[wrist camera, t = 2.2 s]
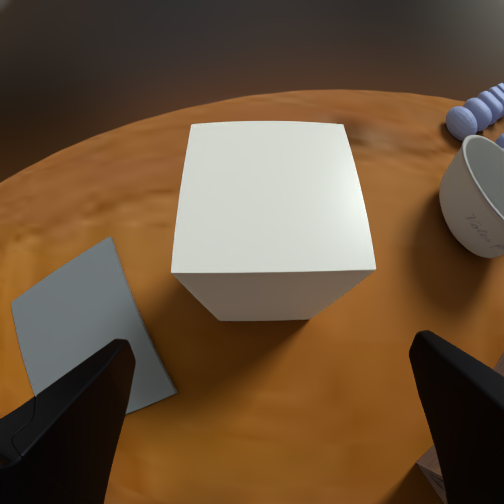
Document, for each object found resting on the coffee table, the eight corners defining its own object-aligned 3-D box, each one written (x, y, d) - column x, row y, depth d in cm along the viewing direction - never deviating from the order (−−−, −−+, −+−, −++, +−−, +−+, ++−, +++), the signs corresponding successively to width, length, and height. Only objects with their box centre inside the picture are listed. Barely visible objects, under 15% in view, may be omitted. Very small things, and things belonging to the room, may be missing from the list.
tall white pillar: (310, 319, 20) (376, 269, 8) (219, 320, 20) (171, 272, 9) (304, 236, 22) (343, 124, 11) (221, 237, 22) (191, 124, 11)
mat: (177, 392, 18) (175, 393, 17) (56, 437, 15) (53, 438, 15) (112, 238, 22) (109, 236, 22) (14, 303, 20) (10, 302, 20)
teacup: (431, 259, 21) (486, 219, 14) (418, 165, 25) (451, 115, 18) (515, 276, 20) (562, 251, 13) (499, 196, 24) (534, 162, 16)
